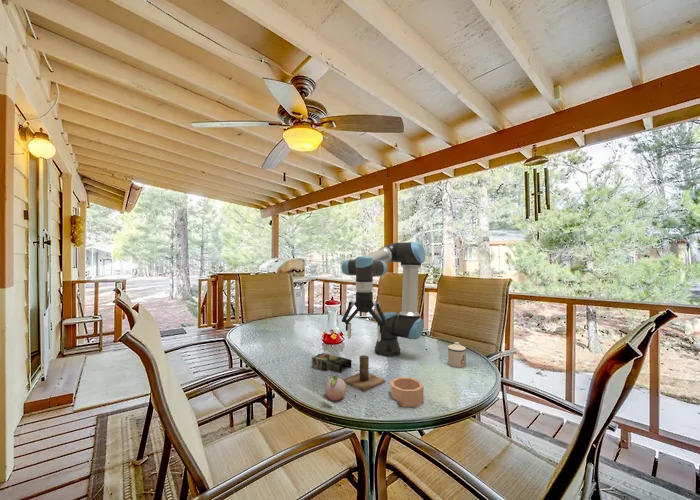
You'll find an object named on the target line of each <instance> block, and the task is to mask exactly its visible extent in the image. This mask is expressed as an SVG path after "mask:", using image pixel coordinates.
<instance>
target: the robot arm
mask: <svg viewBox="0 0 700 500" xmlns="http://www.w3.org/2000/svg"><path fill="white" fill-rule="evenodd" d="M425 262H426V250H425V246H424V245H423V244H422V243H421V242H417V241H416V242H414V241H411V242H394V243H390V244H386V245H384V246H381V247H380V248H378V250H376V251H374V252H370V253H367V254H365V255H363V256H361V255H360V256H356V258H354V259H346V260H344V261H342V263H341V272H342V273H343V274H344V275H347V276H355V290H356V291H355V301H352V300H351V301H349V302H348V306H347V309H346V310H345V313H344V314H343V316H342V318H341V323H345V331H346V332H347V340H350V339H351V338H352V323H351V321H352V320H353V319H354V317H356V315H357V314H358V313H365V314H367V313H369V314H370V315H371V316H372V318H373V319H374V320H375V321H376V323H377V340H376V343H375V346H374V353H375V354H376V355H378V356H381V357H395V356H400V354H401V347H400V344H399V341H398V337H399V338H402V339H409V340H418V339H419V338H421V336H422V334H423V331H424V328H425V327H424V326H425V325H424V324H425V323H424V322H425V321H424V319H422V318H421V315H420V313H419V312H418V304H419V303H418V297H419V269H420V268H422V264H424V263H425ZM388 263H400V267H401V268H402V296H401V298H402V299H401V300H402V301H401V311H400V312H399V313H398V312H396V311H391V312H390V311H389V312H384V311H383V310H382V308H381V303H380V302H374V301H373V300H374V298H373V297H374V295H373V294H374V293H373V290H374V284H373V283H374V282H373V278H374V277H382V276H384V275H385V274H386V273H387V271H388V265H387V264H388ZM354 306H355V310H354V311H353V312H352V314H350V312H351V310H352V309H353V307H354ZM373 308H375V309H376V311H377V312H378V315H377V313H376V312H375V310H374V309H373ZM349 314H350V316H349ZM348 316H349V317H348Z"/></svg>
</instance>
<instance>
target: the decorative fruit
mask: <svg viewBox="0 0 700 500" xmlns="http://www.w3.org/2000/svg"><path fill="white" fill-rule="evenodd" d="M346 392H347V384H345V382H344V381H343V379H342V378H340V377H339V376H338V375H333V376H332V377H330V378H329V379H327V381H326V382H325V395H326V396H327V398H328V399H329V400H330V401H340V400H341V399H342V398H343V397H344V396H345V395H346Z"/></svg>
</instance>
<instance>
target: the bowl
mask: <svg viewBox="0 0 700 500" xmlns="http://www.w3.org/2000/svg"><path fill="white" fill-rule="evenodd" d="M390 397H391V399H393V400H395V401H398V402H397V403H396V405H398V406H400V407H408V408H410V407H411V408H412V407H413V408H417V407H418V406H420V405H422V404H423V403H424V385H423V383H422V381H421V380H418V379H417V378H416V379H415V378H414V377H413V378H412V377H409V376H408V377H403V376H402V377H399V376H398V377H396V378H394V379H392V380H390Z"/></svg>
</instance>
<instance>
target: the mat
mask: <svg viewBox="0 0 700 500" xmlns="http://www.w3.org/2000/svg"><path fill="white" fill-rule="evenodd" d="M345 384H346V386H350V387H351V388H353V389H355V390H358V391H359V392H362V393H367V392H369V391H371V390H373V389H376V388H379V387H381V386H383V385H385V384H387V382H386V381H385V383H383V384H381V385H379V386H376V387H374V388H372V389H370V390H367V391H365V392H363V391H361V390H359V389H357V388H355V387H353V386H351V385H349V384H347V383H345Z"/></svg>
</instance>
